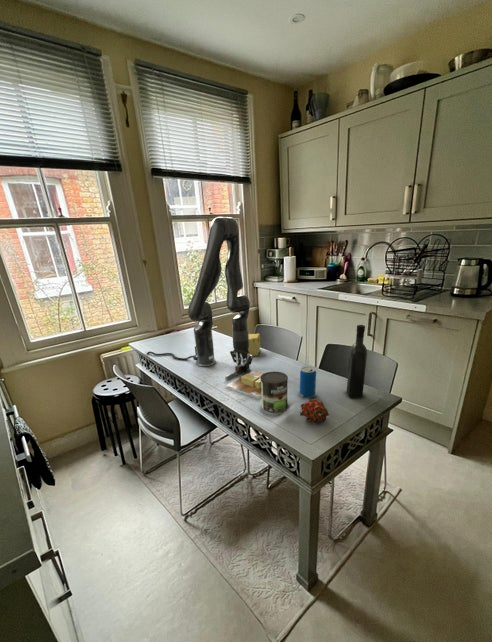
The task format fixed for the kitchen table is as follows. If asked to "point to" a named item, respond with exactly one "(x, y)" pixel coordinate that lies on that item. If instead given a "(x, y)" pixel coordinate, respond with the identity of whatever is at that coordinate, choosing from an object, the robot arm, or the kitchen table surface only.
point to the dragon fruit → (314, 411)
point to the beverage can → (307, 382)
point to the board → (247, 388)
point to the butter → (249, 379)
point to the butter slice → (258, 383)
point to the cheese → (254, 344)
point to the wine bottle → (357, 365)
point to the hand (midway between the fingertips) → (242, 371)
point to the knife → (237, 370)
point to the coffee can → (274, 392)
